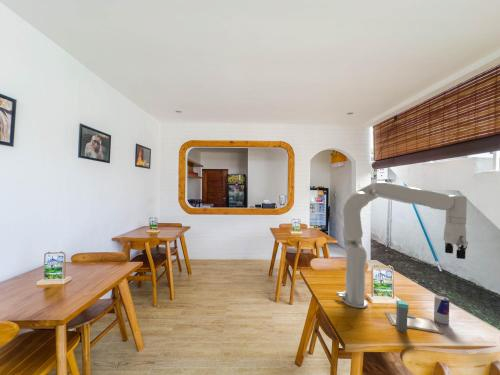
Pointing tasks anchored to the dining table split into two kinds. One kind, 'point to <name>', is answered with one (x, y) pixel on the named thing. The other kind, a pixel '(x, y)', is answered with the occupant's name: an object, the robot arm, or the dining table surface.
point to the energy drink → (441, 310)
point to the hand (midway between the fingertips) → (454, 255)
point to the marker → (401, 316)
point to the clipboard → (416, 323)
